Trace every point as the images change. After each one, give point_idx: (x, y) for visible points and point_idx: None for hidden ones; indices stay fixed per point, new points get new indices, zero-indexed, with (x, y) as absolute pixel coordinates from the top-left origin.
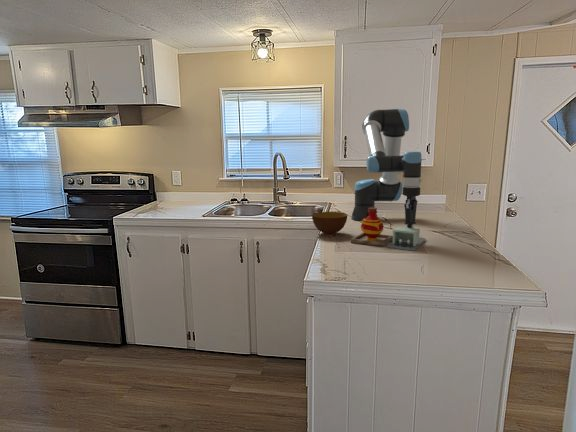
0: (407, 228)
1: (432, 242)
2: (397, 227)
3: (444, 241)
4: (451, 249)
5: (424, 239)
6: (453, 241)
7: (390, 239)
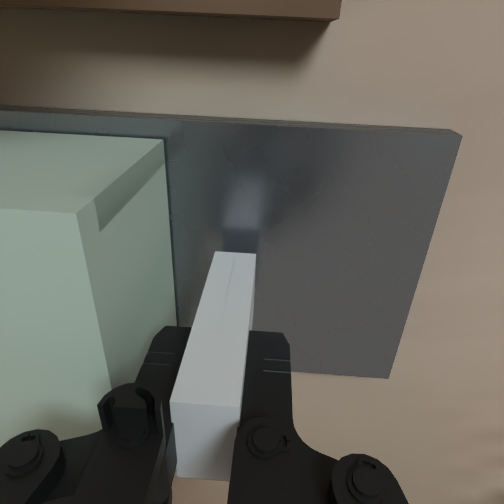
0: (53, 386)
1: (328, 406)
2: (10, 224)
3: (391, 462)
4: (179, 494)
5: (338, 374)
6: (407, 499)
7: (202, 14)
